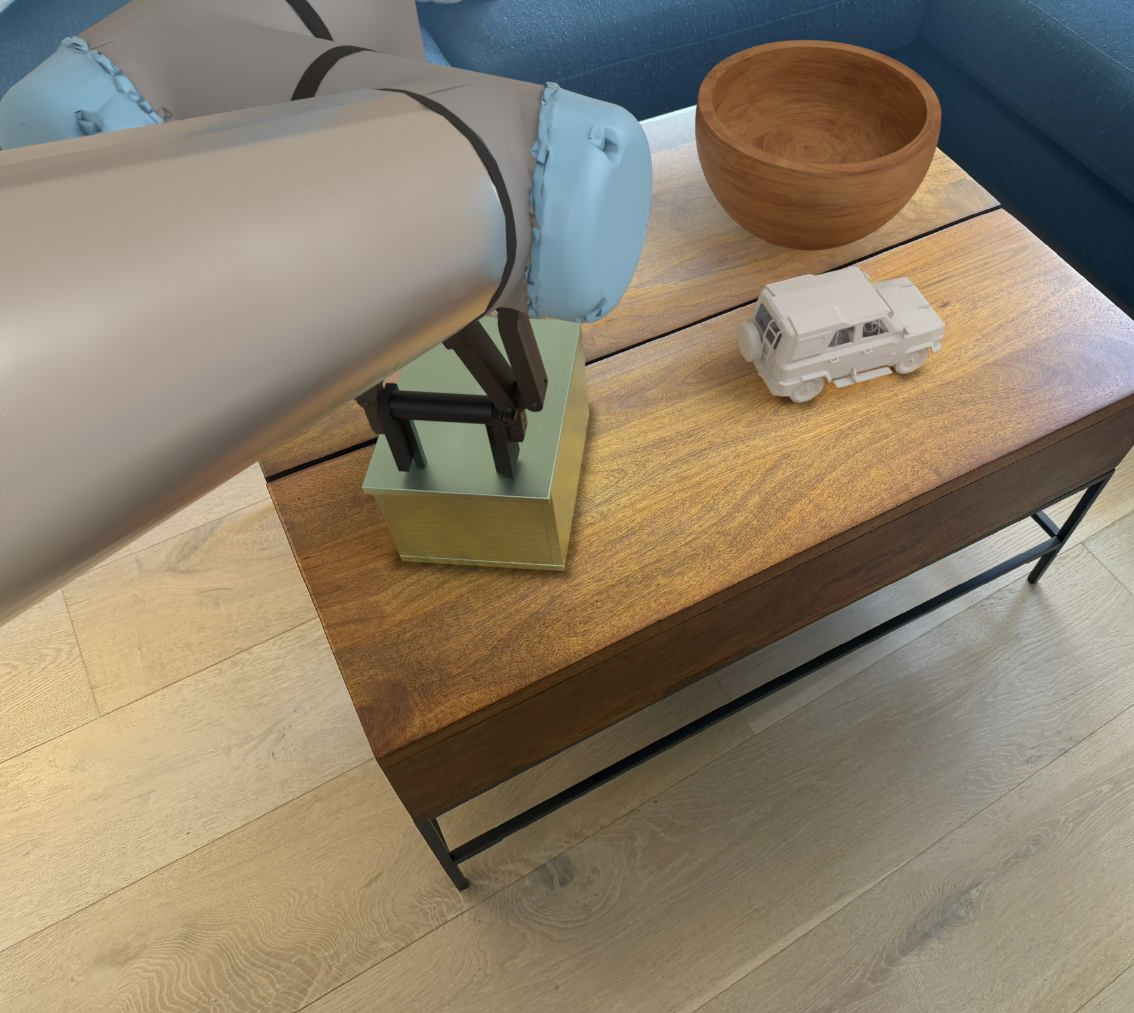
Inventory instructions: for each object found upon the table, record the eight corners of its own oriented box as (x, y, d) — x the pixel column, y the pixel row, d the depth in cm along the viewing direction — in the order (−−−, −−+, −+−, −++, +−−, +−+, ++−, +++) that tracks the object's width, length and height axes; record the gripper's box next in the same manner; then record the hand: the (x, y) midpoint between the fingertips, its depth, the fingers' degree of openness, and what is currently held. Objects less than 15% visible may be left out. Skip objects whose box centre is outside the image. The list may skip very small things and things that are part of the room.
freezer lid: (549, 505, 66) (537, 431, 59) (364, 493, 66) (330, 419, 59) (581, 328, 77) (574, 248, 70) (422, 319, 77) (399, 239, 70)
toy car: (947, 372, 90) (976, 294, 81) (764, 424, 85) (775, 347, 77) (897, 307, 95) (920, 228, 87) (723, 352, 91) (730, 274, 83)
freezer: (564, 571, 75) (551, 494, 66) (401, 561, 76) (367, 483, 67) (589, 413, 86) (581, 328, 77) (446, 405, 86) (422, 319, 77)
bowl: (675, 170, 109) (677, 46, 97) (873, 154, 111) (900, 31, 99) (713, 309, 94) (721, 184, 82) (939, 287, 97) (980, 163, 85)
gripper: (577, 158, 50) (599, 429, 68) (223, 140, 50) (341, 414, 69) (558, 245, 45) (587, 509, 64) (170, 224, 46) (311, 492, 64)
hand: (459, 460), depth 66 cm, fingers closed on freezer lid, 7 cm apart
